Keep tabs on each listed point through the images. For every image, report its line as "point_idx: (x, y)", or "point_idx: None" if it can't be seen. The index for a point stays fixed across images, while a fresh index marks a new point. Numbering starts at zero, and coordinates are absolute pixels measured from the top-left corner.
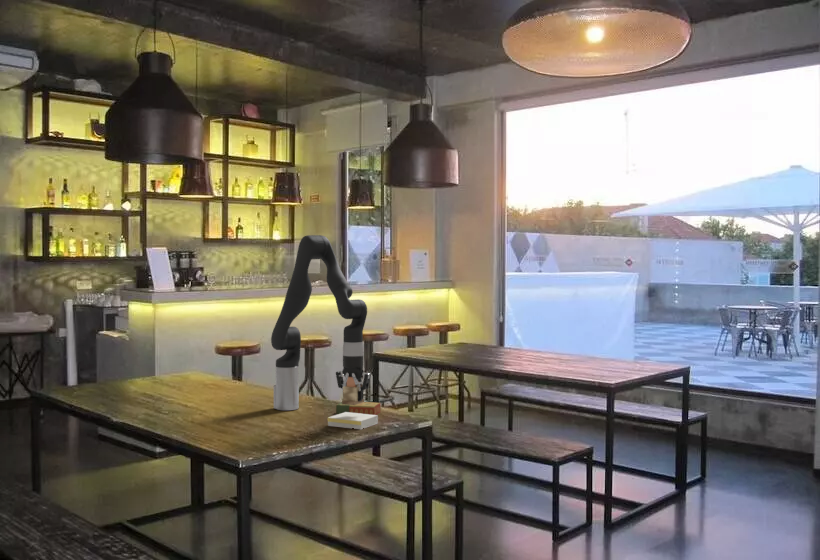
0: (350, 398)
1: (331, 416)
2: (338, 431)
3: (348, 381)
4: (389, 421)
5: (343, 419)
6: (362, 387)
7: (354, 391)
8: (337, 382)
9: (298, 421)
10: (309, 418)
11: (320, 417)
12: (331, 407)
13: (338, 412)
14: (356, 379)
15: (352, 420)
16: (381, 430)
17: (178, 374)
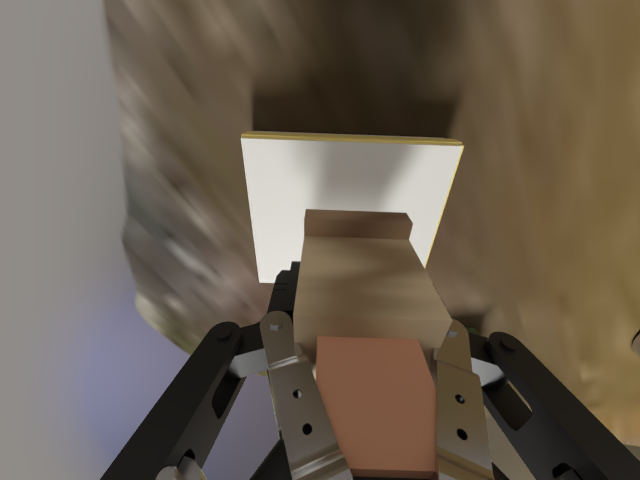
0: (347, 247)
1: (450, 178)
2: (331, 20)
3: (412, 395)
4: (252, 299)
5: (357, 142)
6: (234, 341)
7: (307, 285)
8: (559, 382)
9: (622, 162)
10: (569, 236)
11: (522, 267)
12: None
13: (468, 331)
14: (284, 430)
15: (298, 140)
16: (165, 157)
17: None
